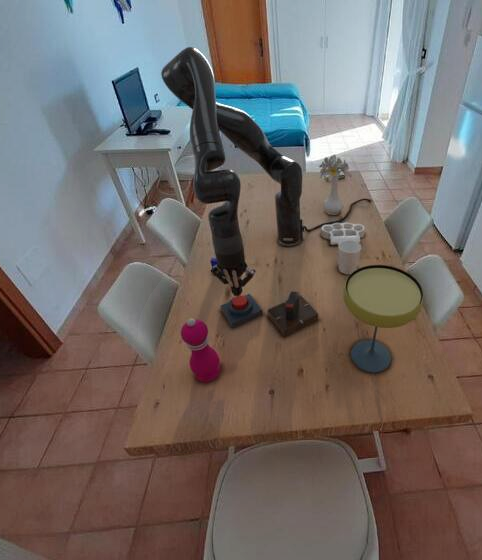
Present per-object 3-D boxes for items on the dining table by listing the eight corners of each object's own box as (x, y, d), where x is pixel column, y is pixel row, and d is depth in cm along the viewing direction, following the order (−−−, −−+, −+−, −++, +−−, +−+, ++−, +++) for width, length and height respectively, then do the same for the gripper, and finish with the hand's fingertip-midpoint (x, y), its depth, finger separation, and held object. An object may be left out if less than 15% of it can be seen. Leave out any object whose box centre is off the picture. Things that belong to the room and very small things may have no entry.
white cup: (361, 265, 122) (364, 243, 115) (354, 278, 116) (356, 255, 110) (341, 260, 124) (343, 237, 118) (333, 272, 119) (334, 249, 112)
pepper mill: (196, 361, 89) (177, 309, 76) (223, 359, 89) (209, 307, 76) (191, 385, 83) (169, 333, 70) (220, 383, 84) (204, 331, 71)
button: (243, 297, 103) (243, 293, 102) (250, 305, 100) (249, 301, 99) (230, 303, 101) (229, 298, 100) (236, 311, 98) (235, 307, 97)
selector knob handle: (291, 303, 102) (290, 290, 99) (299, 304, 102) (298, 291, 98) (285, 319, 97) (284, 306, 93) (293, 320, 96) (293, 307, 93)
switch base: (299, 300, 107) (299, 293, 105) (319, 321, 100) (319, 314, 98) (267, 315, 102) (266, 308, 100) (285, 338, 95) (284, 331, 93)
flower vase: (340, 201, 161) (343, 149, 145) (350, 220, 147) (355, 164, 131) (314, 203, 159) (314, 151, 143) (322, 222, 145) (323, 167, 129)
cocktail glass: (358, 395, 81) (370, 327, 65) (327, 342, 94) (330, 274, 78) (417, 370, 87) (442, 302, 71) (381, 323, 100) (394, 257, 84)
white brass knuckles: (322, 247, 131) (320, 228, 142) (367, 246, 132) (361, 227, 143) (323, 240, 129) (320, 221, 140) (368, 239, 129) (362, 220, 141)
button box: (250, 298, 108) (248, 289, 105) (262, 314, 102) (261, 305, 100) (221, 310, 104) (219, 301, 101) (232, 328, 98) (230, 319, 95)
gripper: (257, 241, 89) (262, 289, 100) (211, 235, 90) (221, 283, 102) (247, 257, 83) (254, 306, 94) (198, 250, 85) (211, 299, 96)
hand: (237, 294), depth 98 cm, fingers closed
